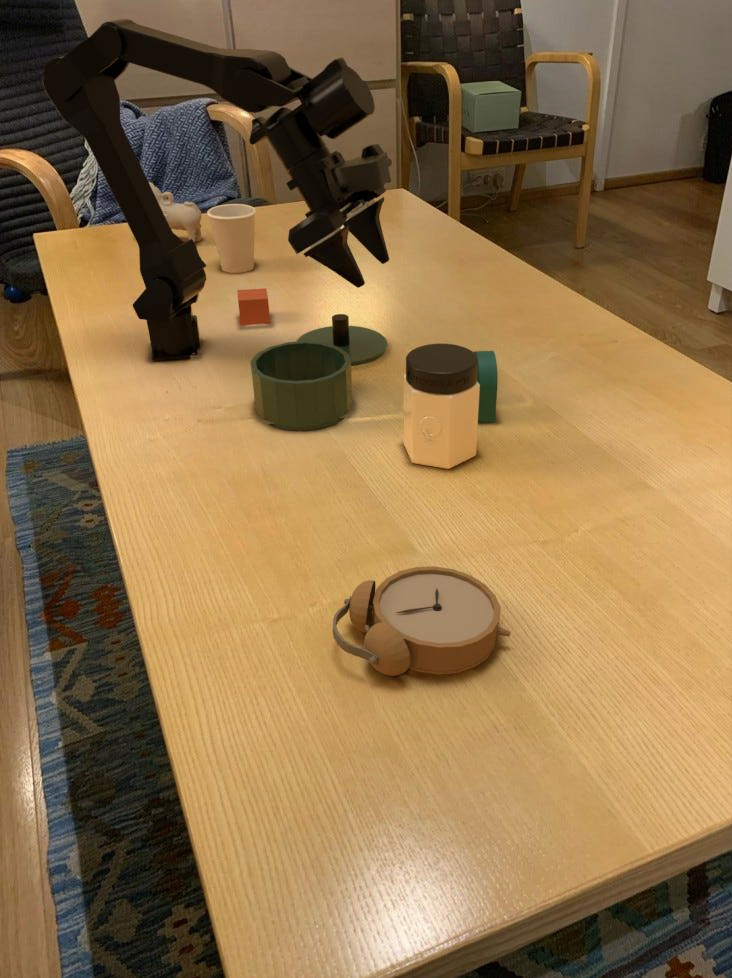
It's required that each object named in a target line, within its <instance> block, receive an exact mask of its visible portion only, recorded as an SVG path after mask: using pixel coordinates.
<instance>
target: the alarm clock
mask: <svg viewBox="0 0 732 978" xmlns="http://www.w3.org/2000/svg"><path fill="white" fill-rule="evenodd" d="M376 585H377V584H376V580H370V579H369V580H365V581H362V582H361V583H359V584H358V585H357V586H356V587H355V589H354V590H353V591H352V594H351V595H350V596H349V598H345V599H344V600H343V603H344V604H345V605H343V606H342V607H340V608H339V609H338V610H337V611H336V612H335V614H334V615H333V618H332V636H333V639H334V642H335V643H336V645H338V646H339V648H340V649H341V650H342V651H345V652H346V653H347V654H348V655H349V654H350V655H351V656H354V657H357V658H361V659H364V660H366V661H368V662H369V663H370V665H371V666H372V667H373V668H374V669H375V670H376V671H377V672H379V673H381V674H382V675H385V676H391V677H392V676H394V677H395V676H399V675H402V674H404V673H405V672H407V671H408V669H409V670H412V671H414V672H418V673H425V674H431V675H448V674H459V673H461V672H464V671H465V672H466V671H467V670H470V669H474V668H476V667H478V666H479V665H481V664H482V663H483V662H484V661H486V660H487V659H488V658H489V657H490V655H491V654H492V652H493V650H494V649H495V648H496V639H497V635H499V636H502V637H511V631H510V630H507V629H505V628H502V627H499V624H500V617H501V605H500V603H499V600H498V598H497V596H496V593H494V592H493V591H492V590H491V588H489V587H488V586H487V585H486V583H484V582H483V581H481V580H479V579H477V578H476V577H474V576H473V575H472V574H468V573H466V572H463V571H460V570H457V569H454V568H448V567H440V566H436V565H435V566H434V565H433V566H415V567H411V568H407V569H403V570H399V571H397V572H395V573H393V574H392V575H390V576H387V577H386V578H385V579H384V580H383V581H382V582H381V583H380V584H379V585H378V586H377V587H376ZM348 613H349V619H350V621H351V624H352V625H353V627H354V628H355V629H356V630H358V631H359V632H362V633H365V637H364V641H363V647H361V646H357V645H356V644H353V643H351V642H349V641H348V640H346V639H345V638H344V637H343V636H342V635H341V633H340V632H339V630H338V627H337V625H338V623H339V622H340V620H341V619H342V618H344V616H346V615H347V614H348Z"/></svg>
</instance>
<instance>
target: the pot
mask: <svg viewBox="0 0 732 978" xmlns="http://www.w3.org/2000/svg"><path fill="white" fill-rule="evenodd" d="M250 368H251V369H250V370H251V380H252V387H253V395H254V396H253V397H254V405H255V413H256V414H258V415H259V417H261V418H262V419H263V420H264V421H267V422H269V423H267V425H268V426H270V427H273V428H276V429H282V430H287V431H298V432H299V431H301V432H302V431H314V430H319V429H323V428H328V427H330V426H333V425H335V424H337V423H339V422H342V421H343V420H344V419H345V417H343V416H345V415H346V414H348V413H349V411H350V409H351V408H352V406H353V386H352V385H353V384H352V383H353V382H352V381H353V380H352V365H351V361H350V358H349V354H348V353H347V352H345V351H344V350H342V349H341V348H339V347H337V346H334V345H330V344H327V343H322V342H311V341H299V342H296V341H287V342H283V343H279V344H275V345H271V346H268V347H266V348H264V349H263V350H261V351H259V352H257V353H256V354H255V355H254V357H252V359H251V360H250Z"/></svg>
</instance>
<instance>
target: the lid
mask: <svg viewBox="0 0 732 978" xmlns="http://www.w3.org/2000/svg"><path fill="white" fill-rule="evenodd" d="M349 318H350V317H349V315H348V314H344V313H337V314H333V315H332V316H331V325H330V326H324V327H319V328H316V329H315V328H314V329H313V330H309V331H308V332H305V333H303V334H302V335H300V337H298V339H297V340H296V341H295V342H299V341H311V342H322V343H327V344H330V345H334V346H337V347H339V348H341V349H342V350H344V351H345V352H347V353H348V354H349V358H350V361H351V366H356V365H361V364H366V363H369V362H371V361H374V360H377V359H378V358H380V357H381V356H382V355H383V354H385V353H386V352H387V349H388V340H387V339H386V337H385V336H384V335H383V334H382V333H380V332H378V331H377V330H374V329H372V328H369V327H364V326H359V325H358V326H357V325H350V319H349Z"/></svg>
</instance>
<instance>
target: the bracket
mask: <svg viewBox="0 0 732 978" xmlns="http://www.w3.org/2000/svg"><path fill="white" fill-rule="evenodd" d="M473 352H474V353H475V354H476V356H477V357H478V372H477V381H478V383H479V385H480V392H479V409H478V424H484V423H487V424H488V423H496V412H497V400H498V382H499V381H498V364H497V363H498V362H497V356H496V353H495V351H494V350H475V351H473Z"/></svg>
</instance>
